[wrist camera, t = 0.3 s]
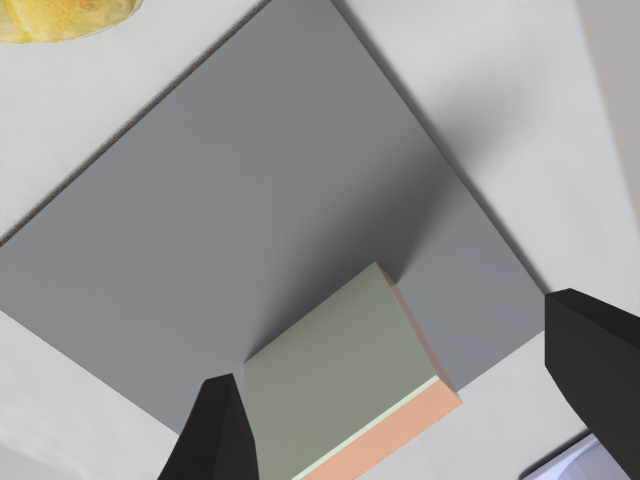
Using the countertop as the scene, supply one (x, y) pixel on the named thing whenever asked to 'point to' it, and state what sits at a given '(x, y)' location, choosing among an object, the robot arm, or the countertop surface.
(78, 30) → the bread roll
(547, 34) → the countertop surface
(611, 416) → the robot arm
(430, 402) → the tile
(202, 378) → the mat
